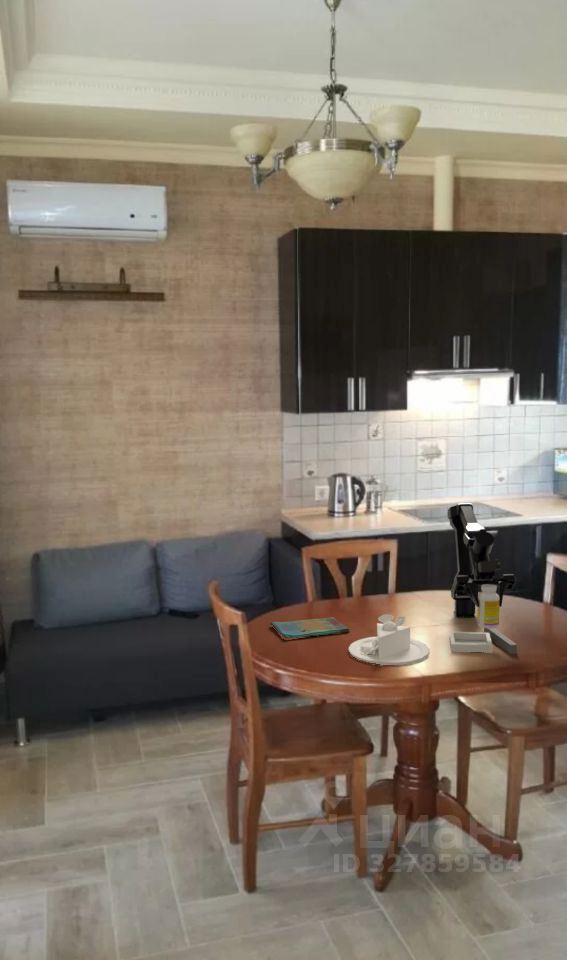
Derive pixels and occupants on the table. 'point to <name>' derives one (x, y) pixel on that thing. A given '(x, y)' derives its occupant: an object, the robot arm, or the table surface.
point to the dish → (390, 645)
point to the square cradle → (470, 642)
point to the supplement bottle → (488, 607)
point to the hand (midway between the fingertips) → (489, 606)
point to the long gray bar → (502, 640)
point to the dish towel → (310, 627)
